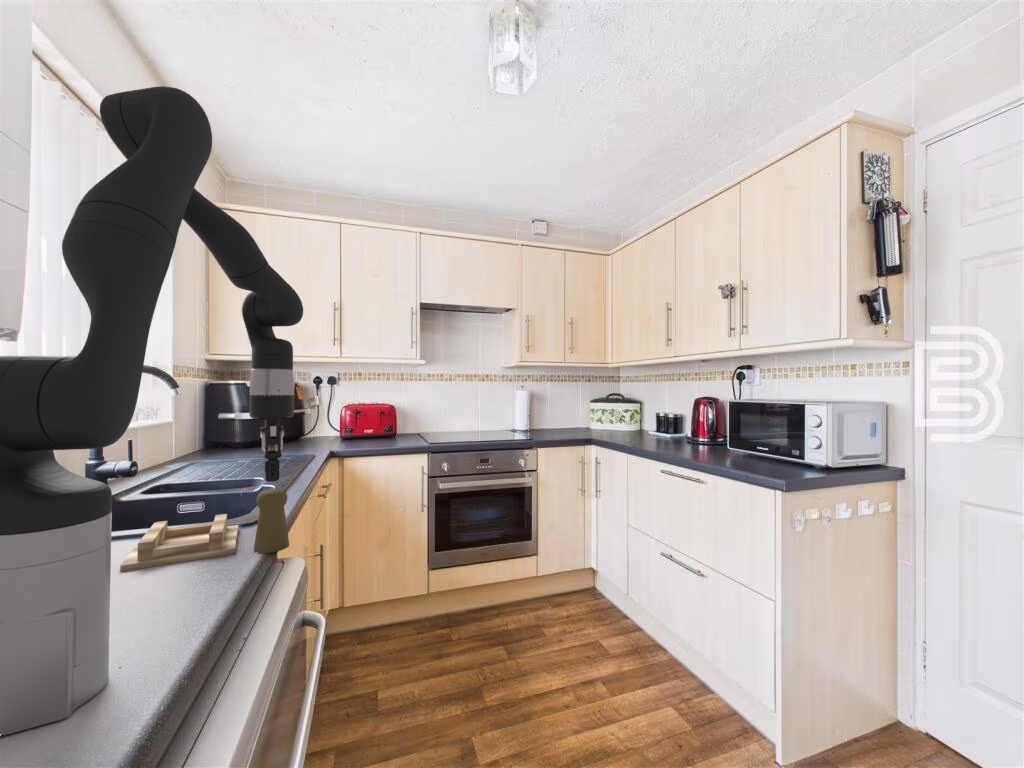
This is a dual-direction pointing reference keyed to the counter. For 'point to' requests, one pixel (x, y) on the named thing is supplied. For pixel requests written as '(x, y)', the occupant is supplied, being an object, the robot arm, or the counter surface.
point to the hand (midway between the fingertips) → (271, 476)
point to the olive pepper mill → (271, 522)
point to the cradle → (182, 543)
